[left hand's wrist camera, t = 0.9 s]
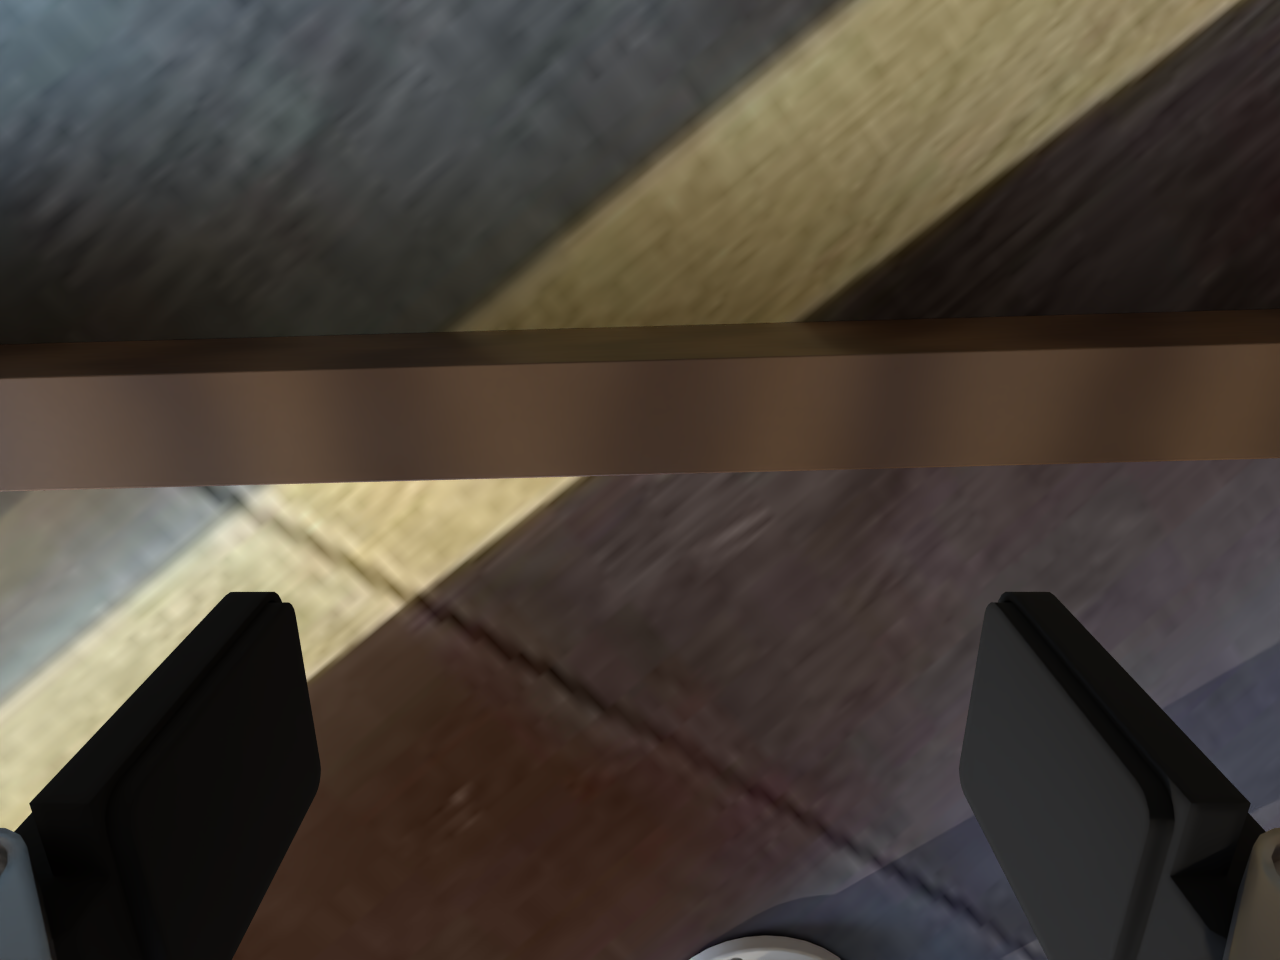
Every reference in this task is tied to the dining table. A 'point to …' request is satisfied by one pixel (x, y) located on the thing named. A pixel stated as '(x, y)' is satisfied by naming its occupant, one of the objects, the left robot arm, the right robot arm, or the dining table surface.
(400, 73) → the dining table surface
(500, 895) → the dining table surface
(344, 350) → the post
